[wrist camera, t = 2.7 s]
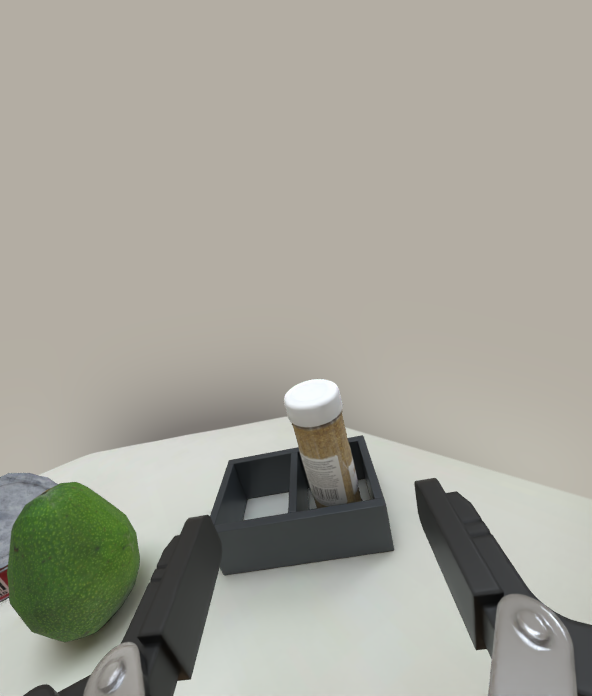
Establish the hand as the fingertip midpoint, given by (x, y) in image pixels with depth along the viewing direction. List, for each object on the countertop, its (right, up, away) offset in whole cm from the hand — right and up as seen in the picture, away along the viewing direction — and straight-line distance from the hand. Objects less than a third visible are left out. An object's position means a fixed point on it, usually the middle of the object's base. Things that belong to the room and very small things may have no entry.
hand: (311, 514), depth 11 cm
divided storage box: (0, -10, +16) cm, 19 cm away
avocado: (-17, -16, +13) cm, 27 cm away
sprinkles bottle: (+4, -10, +16) cm, 19 cm away
